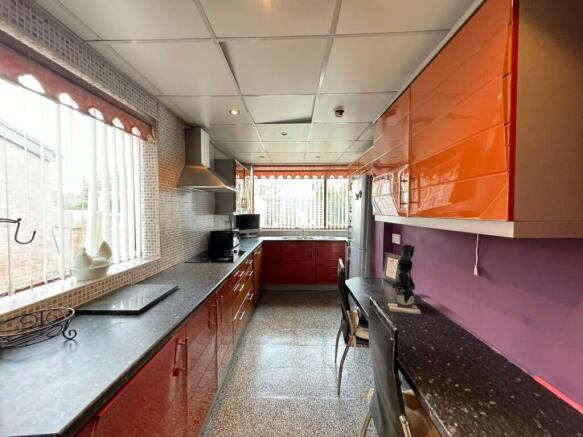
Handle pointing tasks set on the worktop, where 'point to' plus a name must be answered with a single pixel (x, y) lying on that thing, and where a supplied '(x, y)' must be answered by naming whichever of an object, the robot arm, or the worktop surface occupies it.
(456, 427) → the worktop surface
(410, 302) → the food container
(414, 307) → the base board
